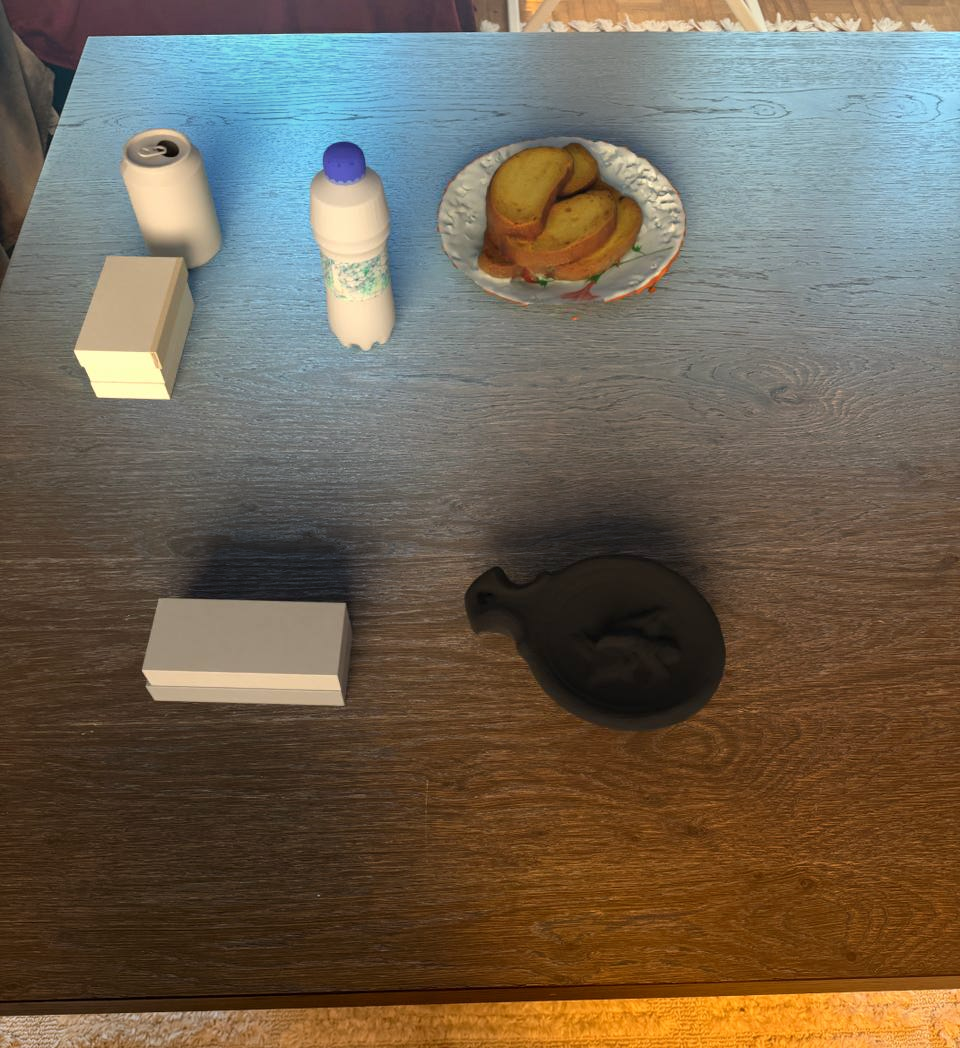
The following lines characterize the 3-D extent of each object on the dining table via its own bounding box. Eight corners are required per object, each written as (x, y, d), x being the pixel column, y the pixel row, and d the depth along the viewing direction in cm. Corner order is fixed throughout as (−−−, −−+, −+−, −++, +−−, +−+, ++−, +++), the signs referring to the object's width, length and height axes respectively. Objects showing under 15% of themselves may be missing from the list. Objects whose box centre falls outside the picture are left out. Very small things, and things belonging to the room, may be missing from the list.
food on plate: (712, 302, 95) (728, 250, 89) (464, 337, 92) (464, 285, 86) (638, 146, 109) (647, 92, 103) (420, 171, 106) (417, 117, 100)
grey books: (154, 700, 71) (135, 671, 67) (170, 628, 74) (153, 596, 70) (344, 706, 71) (337, 677, 67) (352, 633, 74) (346, 601, 70)
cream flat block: (113, 272, 90) (106, 255, 89) (188, 274, 90) (183, 257, 88) (81, 367, 84) (73, 350, 82) (162, 369, 84) (156, 352, 82)
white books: (170, 399, 87) (158, 369, 84) (97, 397, 87) (82, 367, 84) (195, 306, 94) (185, 274, 90) (127, 304, 94) (114, 272, 90)
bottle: (359, 298, 94) (336, 112, 78) (413, 327, 92) (402, 142, 76) (314, 338, 91) (280, 154, 75) (369, 369, 89) (347, 186, 73)
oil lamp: (500, 536, 79) (502, 501, 75) (733, 611, 76) (749, 579, 71) (431, 692, 71) (429, 663, 67) (688, 785, 68) (702, 760, 64)
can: (237, 257, 97) (211, 153, 87) (168, 285, 95) (133, 182, 85) (205, 216, 101) (176, 112, 91) (137, 242, 98) (101, 138, 88)
